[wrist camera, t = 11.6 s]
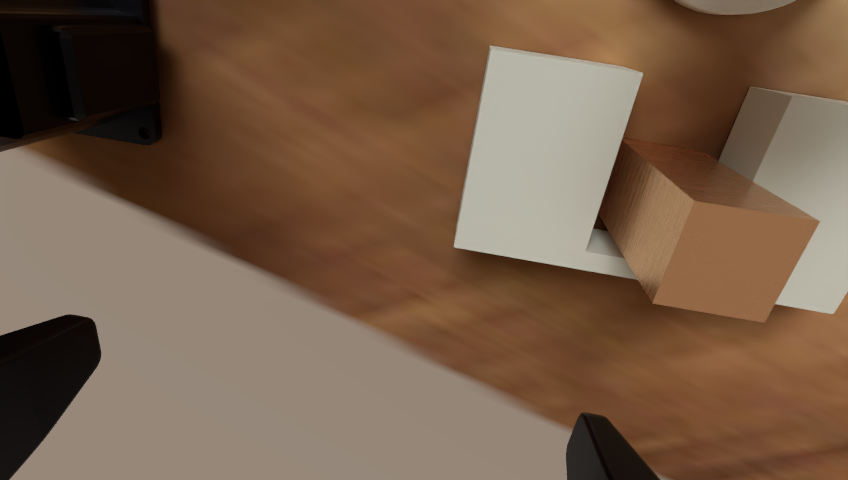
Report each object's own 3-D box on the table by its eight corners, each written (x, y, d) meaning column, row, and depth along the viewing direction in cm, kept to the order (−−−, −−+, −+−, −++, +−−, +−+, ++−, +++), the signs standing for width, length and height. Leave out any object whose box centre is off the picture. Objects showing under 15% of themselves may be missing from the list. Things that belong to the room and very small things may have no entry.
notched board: (456, 221, 20) (453, 247, 18) (489, 45, 17) (490, 49, 15) (792, 280, 19) (833, 314, 17) (888, 108, 16) (954, 122, 14)
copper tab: (595, 210, 19) (652, 303, 13) (619, 137, 18) (694, 200, 11) (670, 222, 19) (764, 322, 13) (699, 150, 18) (820, 221, 11)
